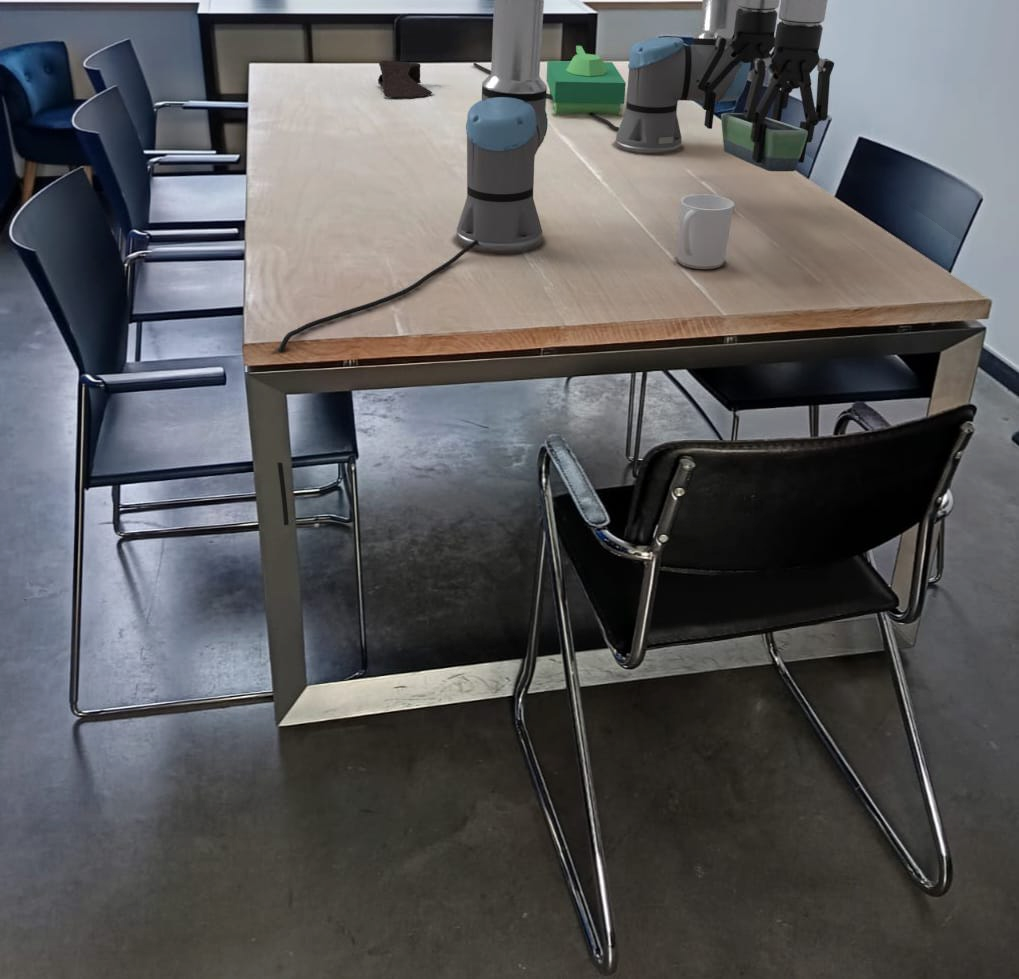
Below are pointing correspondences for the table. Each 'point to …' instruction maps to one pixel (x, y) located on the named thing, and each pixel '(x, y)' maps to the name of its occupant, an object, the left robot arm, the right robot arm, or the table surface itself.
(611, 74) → the toy tank
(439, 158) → the table surface
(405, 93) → the axe head
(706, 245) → the mug
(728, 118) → the planter
